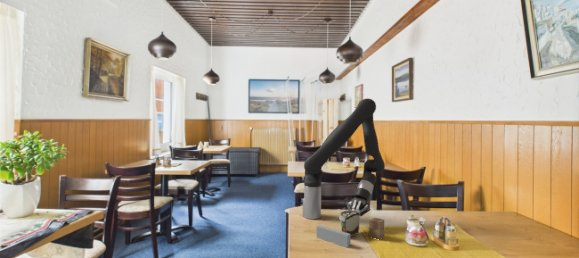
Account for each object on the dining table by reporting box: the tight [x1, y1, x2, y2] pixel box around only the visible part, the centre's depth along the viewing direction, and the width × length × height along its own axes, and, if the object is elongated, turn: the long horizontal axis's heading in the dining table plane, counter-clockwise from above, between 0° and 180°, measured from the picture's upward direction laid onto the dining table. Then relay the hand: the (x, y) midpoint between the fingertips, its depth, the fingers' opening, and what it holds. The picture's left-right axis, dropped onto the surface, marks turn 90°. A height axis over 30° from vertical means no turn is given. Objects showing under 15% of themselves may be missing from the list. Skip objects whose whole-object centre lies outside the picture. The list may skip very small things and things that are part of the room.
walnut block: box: [368, 217, 385, 241], centre depth 135 cm, size 5×5×8 cm
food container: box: [338, 209, 361, 238], centre depth 138 cm, size 12×6×10 cm, turn 133°
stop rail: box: [316, 224, 351, 248], centre depth 130 cm, size 16×2×5 cm, turn 48°
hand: (351, 221), depth 141 cm, fingers closed
